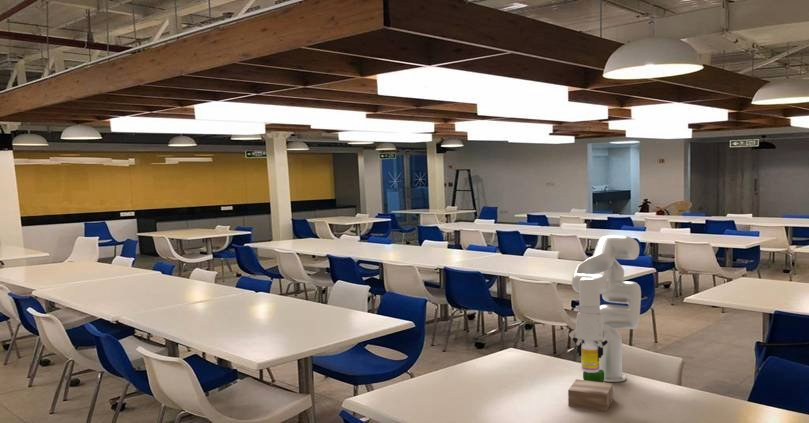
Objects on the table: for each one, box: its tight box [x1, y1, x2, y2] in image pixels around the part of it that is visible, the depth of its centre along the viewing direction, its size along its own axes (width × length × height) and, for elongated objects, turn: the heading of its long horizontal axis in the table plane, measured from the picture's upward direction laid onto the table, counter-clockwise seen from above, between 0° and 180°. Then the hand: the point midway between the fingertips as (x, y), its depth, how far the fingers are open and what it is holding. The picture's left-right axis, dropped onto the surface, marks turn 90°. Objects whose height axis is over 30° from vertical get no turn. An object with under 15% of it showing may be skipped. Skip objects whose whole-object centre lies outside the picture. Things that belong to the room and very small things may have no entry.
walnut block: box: [567, 378, 614, 412], centre depth 237 cm, size 14×14×6 cm
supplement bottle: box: [580, 340, 599, 373], centre depth 236 cm, size 7×7×13 cm
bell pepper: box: [582, 369, 605, 383], centre depth 252 cm, size 8×8×10 cm
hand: (590, 355), depth 236 cm, fingers closed on supplement bottle, 6 cm apart
